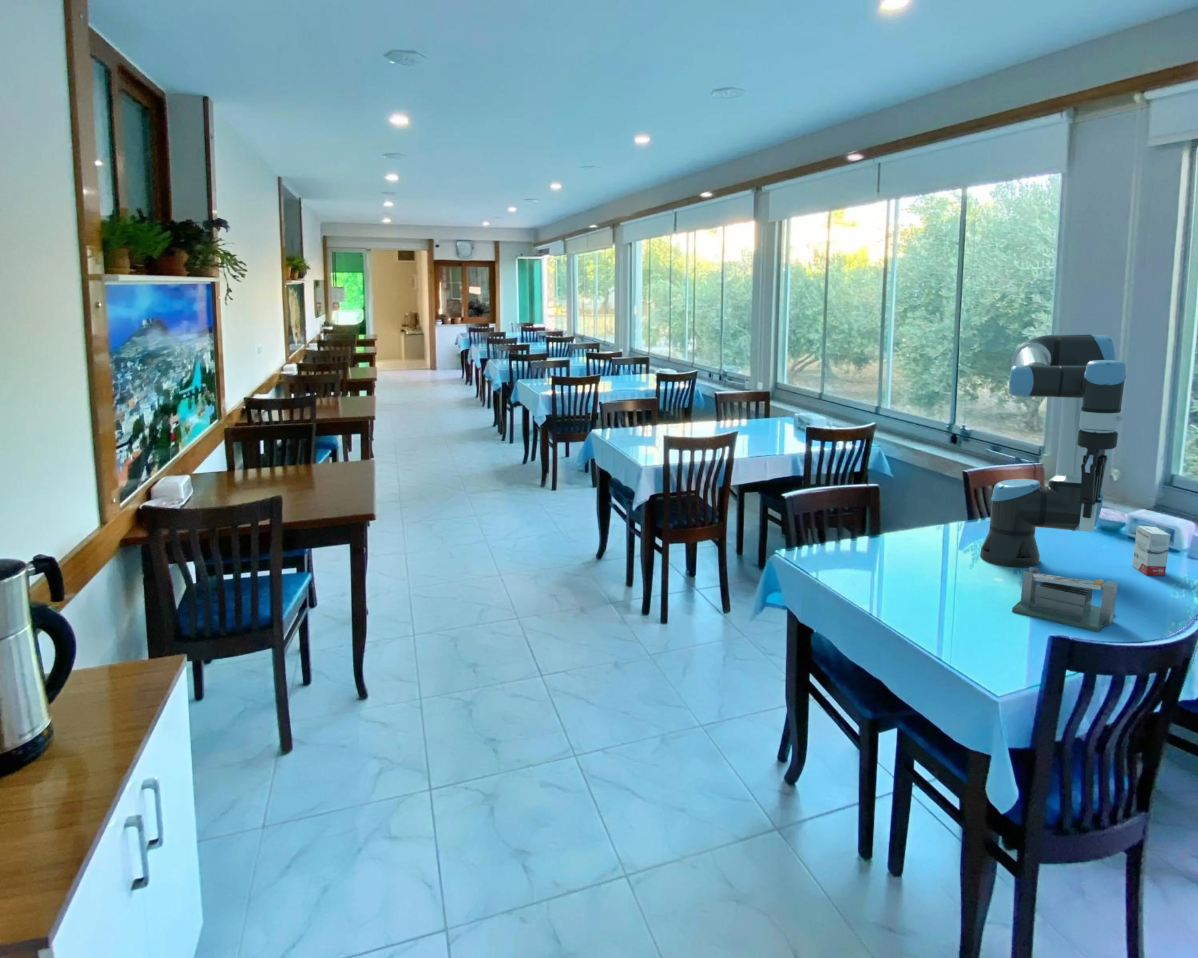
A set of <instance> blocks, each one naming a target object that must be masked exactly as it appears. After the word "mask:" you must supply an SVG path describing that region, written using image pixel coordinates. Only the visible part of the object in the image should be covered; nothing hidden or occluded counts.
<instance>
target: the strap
mask: <svg viewBox="0 0 1198 958" xmlns="http://www.w3.org/2000/svg"><path fill="white" fill-rule="evenodd" d="M1031 573H1034V572H1031ZM1033 580H1034V581H1038V582H1048V583H1055V584H1062V585H1069V586H1076V587H1083V588H1090V589H1093V590H1096V591H1097V590H1099V591H1102V590H1103V586H1104V584H1105V580H1104V579H1099V578H1096V579H1095V580H1091V579H1090V580H1088V579H1083V578H1082V579H1080V578H1074V577H1067V576H1060V575H1053V574H1045V573H1040V572H1039V573H1034V575H1033Z"/></svg>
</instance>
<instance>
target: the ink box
mask: <svg viewBox="0 0 1198 958" xmlns="http://www.w3.org/2000/svg"><path fill="white" fill-rule="evenodd" d="M1135 533H1136V534H1135V540H1134V547H1133V548H1134V549H1133V553H1132V554H1133V557H1132V562H1131V566H1132V567H1134V568H1135V569H1137V571H1139V572H1140V573H1142V574H1143V575H1145V576H1160V577H1163V576H1166V570H1167V562H1168V556H1169V555H1168V554H1169V549H1170V542H1171V541H1170V540H1171V534H1169V533H1167V532H1166V531H1164V530H1162V529H1161V528H1158V527H1157V526H1147V525H1138V526H1136V532H1135Z"/></svg>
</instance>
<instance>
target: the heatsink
mask: <svg viewBox="0 0 1198 958" xmlns="http://www.w3.org/2000/svg"><path fill="white" fill-rule="evenodd" d="M1031 572H1034V573H1039V574H1040V568H1037V567H1035V566H1030V567H1028V571H1025V570H1024V571H1023V574H1022V586H1021V594H1020V600H1019V601H1018V602H1017V603H1016V604H1015V605H1014V606H1013V607H1012V609H1011V611H1012V613H1016V614H1020V615H1025V616H1028V617H1034V618H1039V619H1041V620H1047V621H1051V622H1056V623H1060V624H1064V625H1068V626H1072V627H1077V628H1080V629H1084V630H1085V629H1086V630H1089V631H1093V632H1097V633H1098V632H1099V631H1101V629H1102V628H1103V626H1106V627H1110V625H1111V624H1113V621H1114V613H1115V609H1116V608H1115V606H1116V601H1117V592H1118V582H1116V581H1112V580H1106V582H1104V586H1103V588H1102V593H1101V594H1102V595H1101V602H1100V603H1101V604H1100V606H1098V605H1094V604H1093V605H1092V601H1093V591H1094V589H1090V588H1083V587H1076V586H1069V585H1062V584H1055V583H1048V582H1041V581H1040V582H1041V583H1039V581H1034V580H1033V575H1034V573H1031ZM1038 583H1039V584H1038Z"/></svg>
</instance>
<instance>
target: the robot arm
mask: <svg viewBox="0 0 1198 958" xmlns="http://www.w3.org/2000/svg"><path fill="white" fill-rule="evenodd" d="M1115 353H1116V352H1115V346H1114V342H1113V339H1112V338H1111V337H1110V336H1108V335H1106V334H1105V335H1103V334H1092V333H1091V334H1049V335H1047V334H1046V335H1041V336H1036V337H1033V338H1031V339H1028V340H1026V341H1024V342H1022V343H1021V344H1019V345H1018V346H1017V347H1016V348H1015V349H1014V350H1013V352H1012V354H1011V359H1010V361H1011V363H1010V364H1011V368H1010V373H1009V380H1008V395H1010V396H1012V397H1013V396H1014V397H1022V398H1027V397H1028V398H1029V397H1030V398H1032V397H1033V398H1035V397H1036V398H1039V397H1040V398H1062V399H1061V411H1060V422H1059V432H1058V433H1059V434H1058V445H1057V447H1058V448H1057V455H1056V467H1055V468H1056V469H1055V474H1054V476H1053V477H1051V478H1050V479H1048V485H1047V486H1043V485H1042V484H1041V483H1040V481H1039V480H1036V479H1030V478H1016V479H1015V478H1014V479H1006V480H1002V481H999V482H997V483H995V485H993V486H994V487H993V490H992V495H991V508H990V509H991V510H990V511H991V512H990V519H989V520H990V521H989V530H988V534H987V535H986V537H985V539H984V541H983V542H982V545H981V547H980V555H979V556H980V558H981V559H983V560H984V561H986V562H989V563H992V564H995V565H1000V566H1004V567H1012V568H1029V567H1035V566H1038V564H1039V563H1040V558H1041V557H1040V555H1041V554H1040V551H1039V547H1038V544H1037V541H1036V540H1037V539H1036V537H1035V535H1036V528H1044V529H1056V530H1065V531H1066V530H1067V531H1073V532H1075V531H1080V532H1082V531H1083V532H1089V533H1093V532H1094V531H1095V527H1096V526H1097V524H1098V521H1099V519H1100V516H1101V512H1102V507H1103V502H1104V491H1103V490H1102V486H1103V481H1104V475H1105V470H1106V466H1107V463H1108V462H1107V461H1108V455H1106V451H1107V450H1113V449H1115V448H1116V447H1117V443H1118V439H1119V438H1118V436H1119V433H1118V431H1116V430H1119V427H1120V422H1121V421H1123V420H1124V416H1120V415H1121V411H1122V404H1123V403H1122V402H1123V397H1124V396H1123V395H1124V388H1125V383H1126V382H1125V381H1126V379H1127V374H1126V372H1127V371H1126V370H1127V363H1125V362H1124V361H1123V360H1116V354H1115Z"/></svg>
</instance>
